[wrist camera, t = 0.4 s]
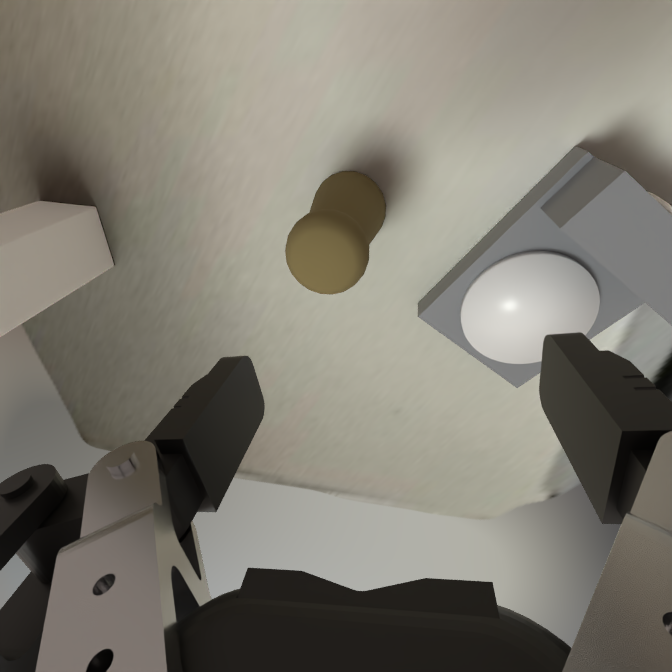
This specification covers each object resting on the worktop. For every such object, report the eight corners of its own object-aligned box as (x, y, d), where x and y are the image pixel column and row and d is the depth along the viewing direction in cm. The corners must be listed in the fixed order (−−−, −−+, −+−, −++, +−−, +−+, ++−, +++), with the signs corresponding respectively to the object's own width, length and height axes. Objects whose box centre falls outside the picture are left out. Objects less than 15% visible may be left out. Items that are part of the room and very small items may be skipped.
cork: (400, 194, 29) (393, 245, 20) (364, 257, 33) (345, 324, 24) (331, 156, 29) (293, 191, 20) (302, 225, 32) (258, 281, 23)
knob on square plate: (582, 138, 25) (629, 155, 20) (692, 243, 28) (761, 285, 22) (418, 303, 34) (418, 346, 29) (511, 371, 37) (528, 423, 31)
